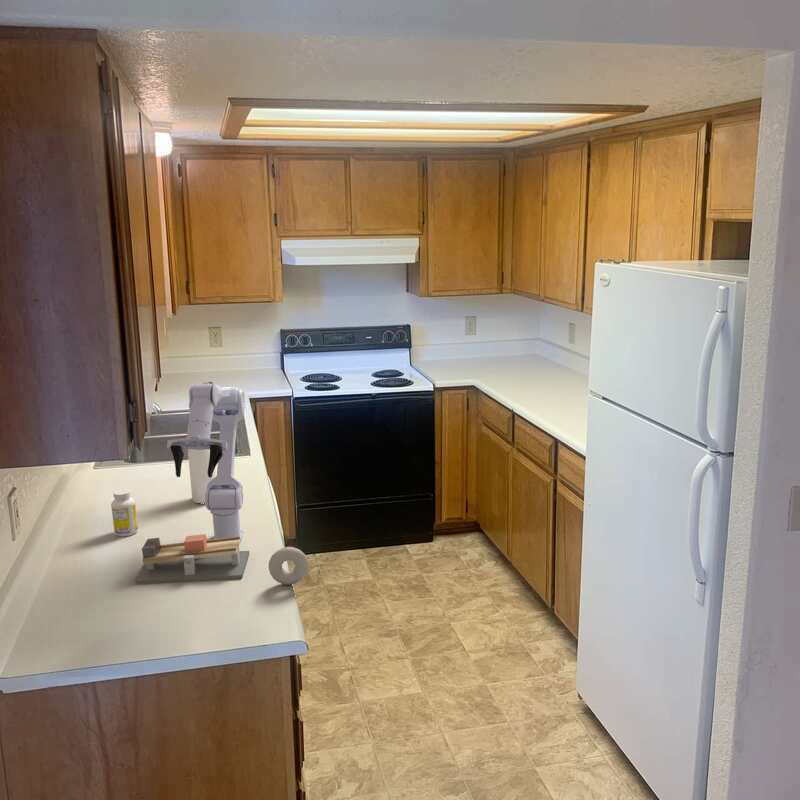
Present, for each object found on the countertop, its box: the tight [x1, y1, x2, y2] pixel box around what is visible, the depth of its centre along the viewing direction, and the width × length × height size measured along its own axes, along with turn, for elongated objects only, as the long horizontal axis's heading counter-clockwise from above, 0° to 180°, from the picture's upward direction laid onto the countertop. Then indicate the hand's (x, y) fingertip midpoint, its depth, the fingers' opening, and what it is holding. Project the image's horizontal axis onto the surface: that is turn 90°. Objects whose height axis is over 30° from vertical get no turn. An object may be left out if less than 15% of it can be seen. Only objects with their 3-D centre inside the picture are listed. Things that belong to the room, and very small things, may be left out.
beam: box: [141, 536, 242, 565], centre depth 210 cm, size 8×24×4 cm, turn 93°
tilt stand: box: [134, 547, 250, 584], centre depth 211 cm, size 15×27×6 cm, turn 93°
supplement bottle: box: [110, 488, 139, 537], centre depth 235 cm, size 7×7×13 cm
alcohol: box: [187, 449, 218, 505], centre depth 258 cm, size 9×9×30 cm
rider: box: [183, 533, 208, 553], centre depth 210 cm, size 4×5×3 cm
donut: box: [268, 546, 310, 586], centre depth 200 cm, size 10×4×10 cm, turn 96°
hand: (193, 475), depth 195 cm, fingers open, 7 cm apart
